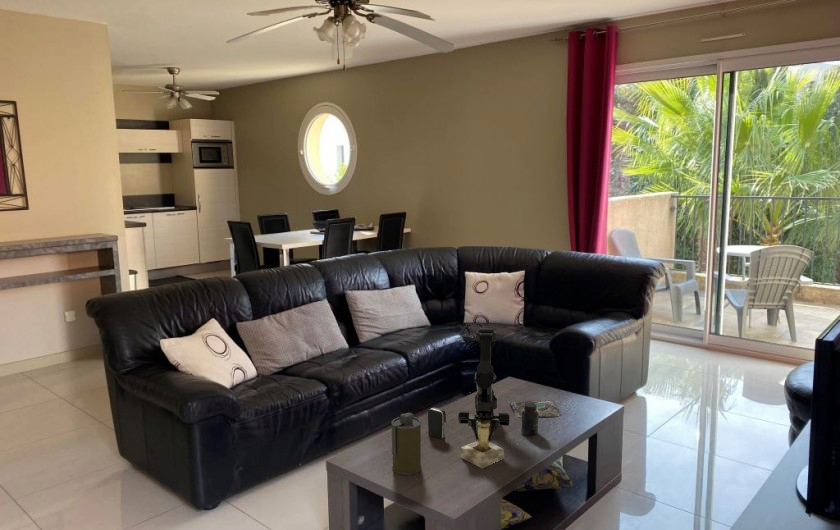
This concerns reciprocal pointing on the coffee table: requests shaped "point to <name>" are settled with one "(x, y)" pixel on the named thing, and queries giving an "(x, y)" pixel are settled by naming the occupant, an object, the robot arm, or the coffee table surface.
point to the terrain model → (542, 408)
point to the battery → (436, 422)
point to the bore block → (482, 454)
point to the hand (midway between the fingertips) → (483, 440)
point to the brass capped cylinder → (483, 435)
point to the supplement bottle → (529, 420)
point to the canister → (406, 444)
